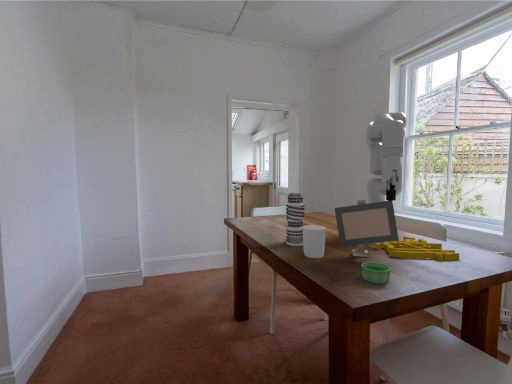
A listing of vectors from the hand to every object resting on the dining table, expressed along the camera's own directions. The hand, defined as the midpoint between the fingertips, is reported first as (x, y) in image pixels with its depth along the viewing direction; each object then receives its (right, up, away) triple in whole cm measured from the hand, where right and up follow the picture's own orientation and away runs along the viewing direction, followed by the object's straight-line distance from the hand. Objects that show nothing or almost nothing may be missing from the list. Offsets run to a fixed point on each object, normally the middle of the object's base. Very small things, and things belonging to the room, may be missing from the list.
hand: (390, 200), depth 105 cm
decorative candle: (-34, -23, +27) cm, 49 cm away
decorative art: (+17, -23, +18) cm, 34 cm away
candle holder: (-29, -24, +8) cm, 38 cm away
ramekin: (-14, -26, -18) cm, 34 cm away
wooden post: (-9, -24, +8) cm, 26 cm away
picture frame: (-7, -18, +3) cm, 19 cm away
